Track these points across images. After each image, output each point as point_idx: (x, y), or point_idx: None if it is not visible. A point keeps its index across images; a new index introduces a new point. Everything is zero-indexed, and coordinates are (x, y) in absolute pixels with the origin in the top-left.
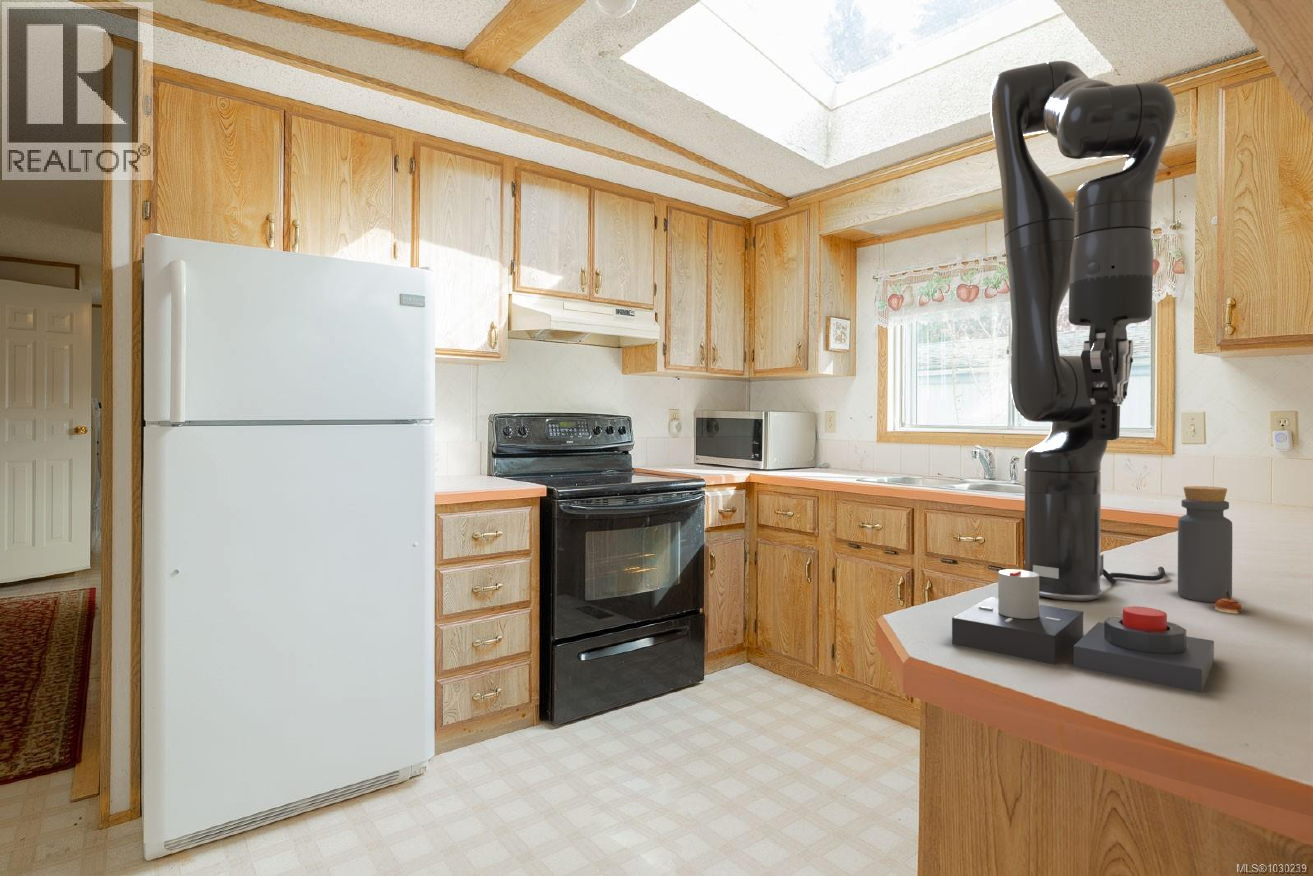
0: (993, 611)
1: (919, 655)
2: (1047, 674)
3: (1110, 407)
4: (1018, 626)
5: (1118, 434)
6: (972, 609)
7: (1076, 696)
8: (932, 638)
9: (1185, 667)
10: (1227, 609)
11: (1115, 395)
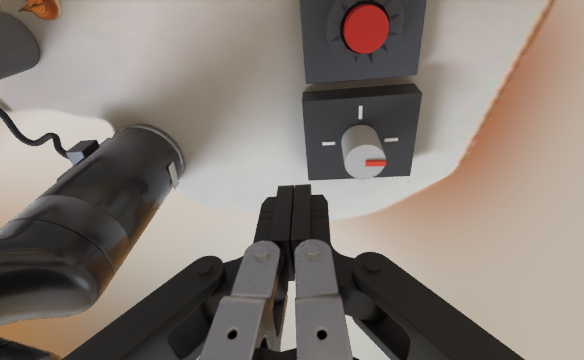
0: None
1: (447, 168)
2: (442, 80)
3: (330, 244)
4: (406, 126)
5: (288, 189)
6: None
7: (494, 42)
8: (393, 179)
9: None
10: (56, 3)
11: (364, 259)
